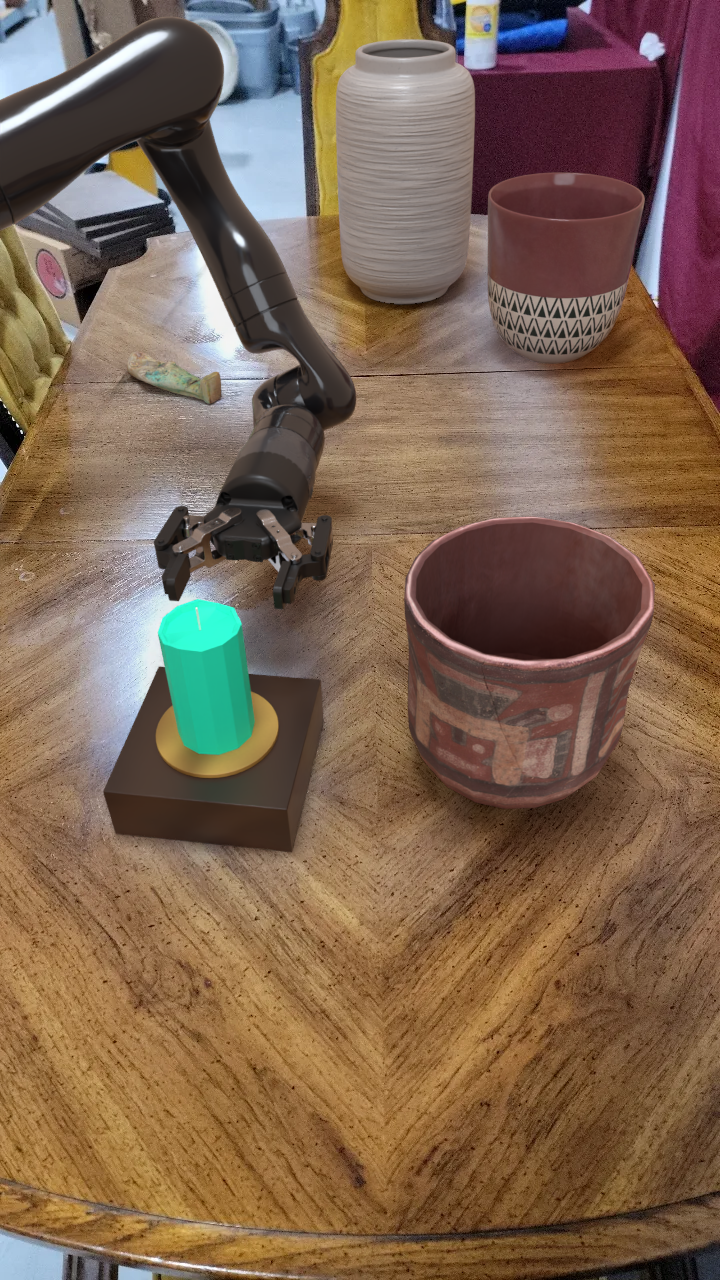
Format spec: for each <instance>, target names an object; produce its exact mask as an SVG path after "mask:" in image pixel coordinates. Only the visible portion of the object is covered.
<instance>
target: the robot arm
mask: <svg viewBox="0 0 720 1280" xmlns="http://www.w3.org/2000/svg"><path fill="white" fill-rule="evenodd" d="M224 79H225V64H224V58H223V54H222V52H221V49H220V46H219V45H218V43H217V41H216V40H215V39H214V37H213V35H211V34H210V32H208V31H207V30H206V28H204V27H202V26H201V25H199V24H198V23H197V22H194V21H191V20H189V19H187V18H181V17H177V16H161V17H155V18H151V19H148V20H146V21H144V22H142V23H140V24H138V25H137V26H135V27H134V28H132V29H131V30H129V31H127V32H126V33H124V34H123V35H122V36H120V37H119V38H117V39H115V40H113V41H112V42H111V43H109V44H108V45H106V46H105V47H103V48H101V49H100V50H98V51H96V52H95V53H94V54H92V55H90V56H89V57H87V58H86V59H84V60H82V61H81V62H79V63H78V64H76V65H74V66H73V67H71V68H69V69H67V70H65V71H63V72H61V73H59V74H57V75H55V76H53V77H50V78H47V79H46V80H44V81H41V82H38V83H35V84H32V85H31V86H28V87H26V88H24V89H21V90H19V91H16V92H14V93H12V94H9V95H7V96H5V97H3V98H1V99H0V232H2V231H4V230H6V229H8V228H10V227H12V226H14V225H16V224H18V223H19V222H21V221H23V220H25V219H26V218H27V217H29V216H31V215H33V214H34V213H35V212H37V211H38V210H39V209H41V208H42V207H44V206H45V205H46V204H47V203H49V202H50V201H51V200H53V199H54V198H55V197H56V196H58V195H59V194H60V193H61V192H62V191H63V190H65V189H66V188H67V187H68V186H69V185H71V184H72V183H73V182H74V181H75V180H76V179H78V178H79V177H80V176H81V175H82V174H83V173H84V172H86V171H87V170H88V169H89V168H91V167H92V166H93V165H95V164H96V163H97V162H99V161H101V159H102V158H104V157H106V156H107V155H110V154H111V153H113V152H115V151H116V150H118V149H121V148H123V147H124V146H126V145H129V144H131V143H134V142H137V144H138V146H139V147H140V149H141V150H142V152H143V154H144V155H145V157H146V158H147V159H148V161H149V163H150V165H151V166H152V167H153V169H154V171H155V173H157V175H158V177H159V178H160V180H161V182H162V183H163V185H164V187H165V188H166V190H167V192H168V193H169V195H170V198H171V199H172V201H173V202H174V205H175V206H176V208H177V209H178V211H179V213H180V215H181V217H182V219H183V221H184V222H185V224H186V226H187V228H188V230H189V233H190V235H191V236H192V239H193V240H194V242H195V244H196V246H197V247H198V250H199V252H200V254H201V257H202V259H203V261H204V263H205V265H206V267H207V269H208V272H209V274H210V276H211V278H212V281H213V283H214V285H215V287H216V289H217V292H218V294H219V296H220V297H219V298H220V299H221V302H222V303H223V306H224V308H225V311H226V312H227V315H228V317H229V319H230V322H231V324H232V326H233V328H234V330H235V332H236V335H237V337H238V339H239V341H240V343H241V345H242V346H243V348H244V349H245V350H246V351H247V352H248V353H250V354H253V355H259V354H264V353H265V354H266V353H270V352H273V351H279V350H283V351H286V352H287V353H289V354H290V355H291V356H293V358H294V359H296V361H297V362H298V364H297V365H295V366H293V367H291V368H289V369H287V370H285V371H282V372H280V373H278V374H276V375H273V376H271V377H269V378H268V379H266V380H265V381H264V382H262V383H261V384H260V385H259V386H257V388H256V389H255V391H254V393H253V395H252V398H251V409H252V430H251V432H250V434H249V437H248V439H247V441H246V442H245V444H244V445H243V446H242V448H241V449H240V450H239V452H238V454H237V455H236V458H235V459H234V462H233V464H232V466H231V468H230V470H229V472H228V474H227V477H226V478H225V481H224V483H223V485H222V487H221V489H220V492H219V493H218V496H217V499H216V502H215V506H214V508H213V509H212V510H209V511H208V512H207V513H206V514H205V515H195V514H190V513H189V507H187V506H186V505H179V506H176V507H174V509H173V510H172V511H171V513H170V515H169V517H168V518H167V520H166V521H165V523H164V525H162V527H161V529H160V530H159V533H158V534H157V536H156V537H155V539H154V540H153V546H154V552H155V557H156V562H157V567H158V568H159V569H160V570H164V571H163V572H162V574H161V581H162V586H163V592H164V595H167V597H168V601H170V602H180V601H181V598H182V596H183V594H184V592H185V589H186V587H187V585H188V583H189V581H190V580H191V576H192V575H191V574H192V573H194V572H196V571H198V570H199V569H201V568H203V567H205V568H206V569H210V568H212V567H215V566H217V565H219V564H220V563H222V562H224V561H249V562H253V563H263V562H264V561H266V560H268V562H269V563H270V564H271V565H272V567H274V569H275V570H276V571H277V575H276V578H275V581H274V584H273V586H272V600H273V608H274V610H281V611H282V610H283V611H284V610H285V608H286V605H291V604H292V603H293V602H294V601H296V597H297V594H298V591H299V588H300V584H302V583H303V581H304V580H305V579H307V578H312V579H313V581H317V582H319V581H320V582H321V581H324V580H325V579H327V577H328V571H329V566H330V562H331V556H332V550H333V544H334V533H333V518H332V516H330V515H327V514H322V515H320V516H318V517H317V519H316V522H303V519H304V516H305V514H306V510H307V508H308V505H309V502H310V500H312V497H313V493H314V487H315V482H316V474H317V470H318V467H319V464H320V462H321V458H322V457H323V452H324V447H325V442H326V441H325V440H326V437H325V431H327V430H329V429H332V428H335V427H337V426H339V425H341V424H343V423H345V422H346V421H348V420H349V419H351V417H352V416H353V415H354V412H355V410H356V406H357V392H356V391H357V390H356V387H355V383H354V380H353V379H352V377H351V375H350V373H349V372H348V370H347V369H346V368H345V366H344V365H343V364H342V362H341V361H340V360H339V358H338V357H337V356H336V355H335V353H334V352H333V351H332V350H331V349H330V347H329V346H328V345H327V343H326V342H325V340H323V338H322V337H321V335H320V334H319V332H318V331H317V330H316V328H315V327H314V326H313V324H312V322H311V321H310V319H309V317H308V316H307V315H306V313H305V311H304V309H303V307H302V305H301V302H300V300H299V299H298V296H297V293H296V290H295V288H294V286H293V284H292V281H291V279H290V276H289V274H288V272H287V270H286V268H285V265H284V263H283V261H282V259H281V257H280V255H279V252H278V251H277V249H276V247H275V245H274V244H273V242H272V240H271V239H270V237H269V236H268V234H267V232H265V230H264V228H263V226H261V224H260V223H259V222H258V220H257V218H255V216H254V215H253V213H252V212H251V211H250V210H249V208H248V207H247V205H246V204H245V202H244V200H243V199H242V197H240V194H239V193H238V191H237V190H236V188H235V186H234V184H233V183H232V180H231V179H230V177H229V175H228V173H227V170H226V167H225V165H224V162H223V160H222V157H221V155H220V152H219V148H218V146H217V142H216V139H215V135H214V132H213V131H214V130H213V128H212V124H211V120H210V119H211V118H212V116H213V114H214V112H215V110H216V108H217V106H218V104H219V101H220V98H221V96H222V93H223V88H224V82H225V80H224ZM302 539H305V540H306V541H307V544H308V545H309V546H311V548H310V551H309V553H307V554H303V553H302V552H301V551H300V550H299V549H298V548H297V546H296V544H299V543H300V541H302ZM211 544H212V545H211ZM211 546H213V547H214V549H213V550H212V547H211ZM193 551H195V554H194V555H193V556H191V557H190V553H192V552H193Z"/></svg>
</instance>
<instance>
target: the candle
mask: <svg viewBox="0 0 720 1280" xmlns="http://www.w3.org/2000/svg"><path fill="white" fill-rule="evenodd" d="M157 636H158V637H157V638H158V641H159V647H160V651H161V657H162V660H163V665H164V666H163V667H165V671H166V675H167V680H168V685H169V690H170V695H171V700H172V704H173V709H174V714H175V719H176V724H177V729H178V733H179V735H180V737H181V740H182V742H183V744H184V746H186V747H188V748H189V749H191V750H193V751H195V752H197V753H198V754H212V755H220V754H223V753H226V752H229V751H232V750H235V749H238V748H239V747H240V746H241V745H242V744H244V743H245V742H246V741H247V740H248V739H249V738H250V737H251V736H252V732H253V728H254V723H255V719H254V712H253V704H252V697H251V689H250V682H249V674H250V673H249V668H248V660H247V652H246V645H245V638H244V630H243V623H242V620H241V618H240V617H239V614H238V613H237V610H236V608H235V607H234V606H230V605H226V604H222V603H220V602H215V601H210V600H205V599H200V598H196V599H193V600H190V601H188V602H185V603H182V604H179V605H176V607H174V608H172V610H170V611H169V612H167V613H166V614H165V615H164V616H162V618H161V621H160V625H159V627H158V631H157Z"/></svg>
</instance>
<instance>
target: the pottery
mask: <svg viewBox="0 0 720 1280" xmlns="http://www.w3.org/2000/svg"><path fill="white" fill-rule="evenodd" d="M404 579H405V580H404V594H403V595H404V597H403V604H404V619H405V627H406V633H407V635H406V636H407V644H408V645H407V647H408V661H407V662H408V663H407V664H408V665H407V667H408V669H407V670H408V671H407V674H408V675H407V719H408V720H407V722H408V730H409V733H410V735H411V739H412V740H413V742H414V745H415V747H416V749H417V751H418V754H419V755H420V758H421V759H422V760H423V762H424V763H425V765H426V766H427V767H428V768H429V769H430V770H431V772H432V773H433V774H434V775H435V776H436V777H437V778H438V779H439V780H440V781H441V782H442V783H443V784H444V785H445V787H446V788H448V789H449V790H452V791H453V792H455V793H457V794H459V795H460V796H463V797H465V798H466V799H468V800H470V801H472V802H474V803H475V804H481V805H485V806H489V807H494V808H499V809H503V810H506V809H507V810H508V809H511V810H512V809H536V808H539V807H543V806H546V805H549V804H553V803H556V802H558V801H559V802H560V801H561V800H565V799H566V798H568V797H569V796H571V795H572V794H574V793H575V792H576V791H578V790H580V789H581V788H583V787H584V786H585V785H587V784H588V783H589V782H591V781H592V780H593V779H595V778H596V777H597V776H598V774H600V771H601V770H602V769H603V767H604V765H605V764H606V763H607V761H608V760H609V758H610V756H611V755H612V753H613V752H614V750H615V749H616V748H617V746H618V744H619V742H620V739H621V736H622V733H623V727H624V721H625V715H626V709H627V703H628V697H629V690H630V687H631V684H632V680H633V676H634V673H635V670H636V666H637V663H638V659H639V656H640V654H641V652H642V649H643V646H644V644H645V641H646V639H647V637H648V634H649V631H650V629H651V627H652V623H653V622H652V621H653V617H654V613H655V597H656V596H655V593H656V584H655V582H654V581H653V578H652V577H651V576H650V574H649V572H648V571H647V569H646V567H645V566H644V564H643V562H642V560H641V559H640V557H639V556H637V555H636V554H635V553H634V552H632V551H631V550H630V549H628V548H627V547H625V546H624V545H623V544H621V543H620V542H619V541H618V540H616V539H615V538H613V537H612V536H610V535H608V534H605V533H603V532H599V531H597V530H594V529H592V528H589V527H586V526H584V525H581V524H578V523H575V522H572V521H571V522H570V521H565V520H558V519H552V518H546V517H540V516H534V515H532V516H531V515H528V516H513V517H512V516H510V517H507V516H506V517H493V518H488V519H485V520H481V521H480V520H479V521H476V522H471V523H468V524H464V525H460V526H458V527H456V528H454V529H452V530H450V531H449V532H446V533H445V534H443V535H441V536H439V537H437V538H435V539H433V540H431V541H430V542H429V544H427V546H425V548H423V549H422V550H421V551H420V552H419V553H418V554H417V555H416V556H415V557H414V559H413V561H412V563H411V565H410V567H409V570H408V572H407V574H406V575H405V578H404Z"/></svg>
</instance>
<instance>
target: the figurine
mask: <svg viewBox="0 0 720 1280" xmlns="http://www.w3.org/2000/svg"><path fill="white" fill-rule="evenodd" d="M126 371H127V373H128V374H129V375H131V376H132V377H134V378H135V379H137V380H139V381H141V382H144V383H146V384H148V385H151V386H152V387H153V386H154V387H155V388H157V389H161V390H164V391H167V392H169V393H173V394H178V395H181V396H185V397H191V398H196V399H197V400H202V401H204V403H206V404H209V405H210V404H213V403H215V402H217V401H219V400H220V399H221V398H222V396H223V395H222V393H223V392H222V378H221V374H220V372H219V371H213V372H211V373H208V374H206V375H204V377H202V378H199V377H198V376H195V375H194V374H191V373H190V372H189V371H187V370H185V369H184V368H182V367H180V366H179V365H178V364H177V363H176V362H175V361H174V360H169V361H168V362H167V361H166V362H165V361H162V360H158V359H154V358H153V357H152V356H151V355H149V354H148V353H145V352H143V351H141V350H135V351H133V352H131V353H130V354H129V356H128V358H127V361H126Z"/></svg>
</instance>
